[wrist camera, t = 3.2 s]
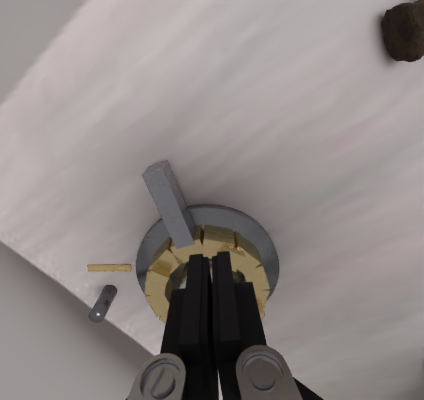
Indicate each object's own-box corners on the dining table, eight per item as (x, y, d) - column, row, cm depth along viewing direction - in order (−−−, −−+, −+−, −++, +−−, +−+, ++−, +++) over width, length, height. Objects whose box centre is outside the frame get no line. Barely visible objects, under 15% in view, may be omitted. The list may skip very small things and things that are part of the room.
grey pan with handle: (274, 301, 29) (282, 329, 26) (176, 324, 31) (171, 354, 27) (223, 140, 22) (225, 149, 18) (99, 182, 24) (79, 198, 20)
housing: (289, 300, 31) (302, 336, 26) (133, 337, 34) (120, 376, 29) (256, 185, 25) (266, 205, 20) (71, 242, 28) (42, 272, 23)
